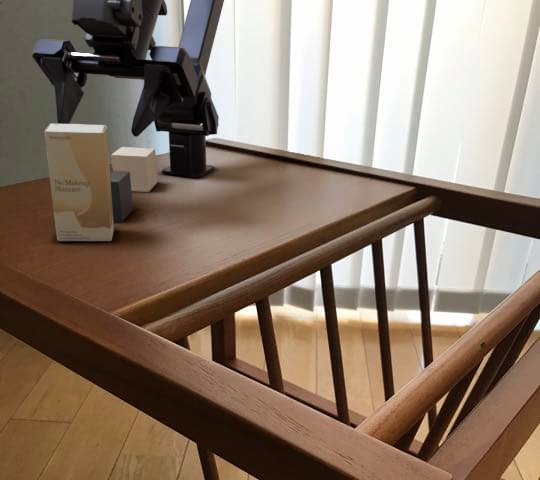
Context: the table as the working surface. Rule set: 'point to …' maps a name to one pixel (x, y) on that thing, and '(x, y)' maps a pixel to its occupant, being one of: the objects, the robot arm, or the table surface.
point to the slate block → (121, 194)
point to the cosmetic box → (80, 181)
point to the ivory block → (137, 166)
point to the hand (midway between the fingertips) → (97, 130)
